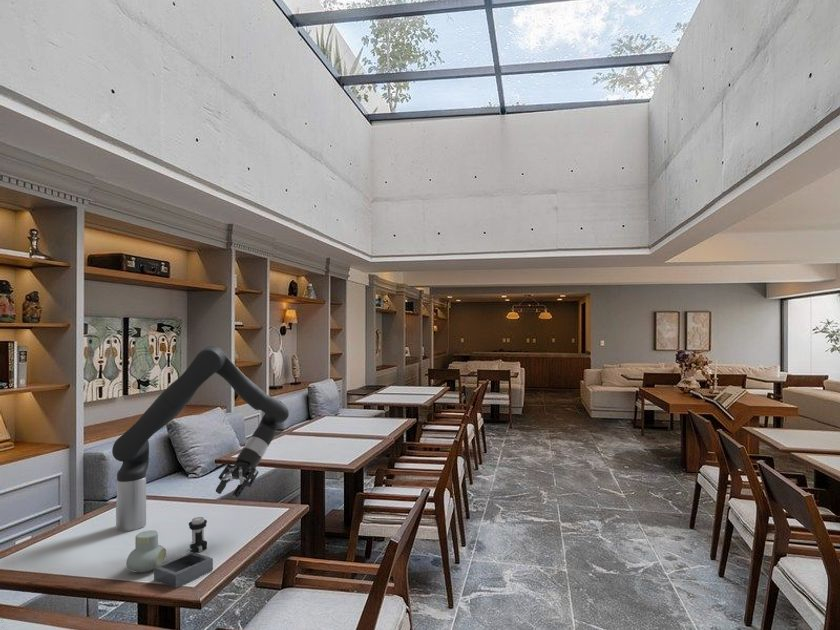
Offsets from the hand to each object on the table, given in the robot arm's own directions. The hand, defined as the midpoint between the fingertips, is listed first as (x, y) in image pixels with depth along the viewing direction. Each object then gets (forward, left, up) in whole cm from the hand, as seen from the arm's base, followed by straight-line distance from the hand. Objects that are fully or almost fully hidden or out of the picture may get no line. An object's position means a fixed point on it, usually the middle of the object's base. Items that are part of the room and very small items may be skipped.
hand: (226, 494), depth 174 cm
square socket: (+11, -24, -15) cm, 30 cm away
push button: (0, -12, -15) cm, 19 cm away
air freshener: (-3, -26, -15) cm, 30 cm away
